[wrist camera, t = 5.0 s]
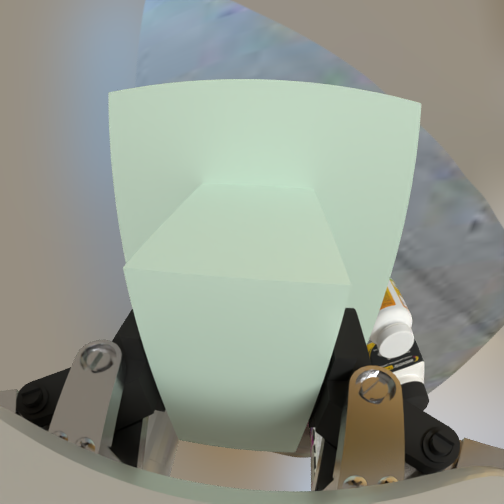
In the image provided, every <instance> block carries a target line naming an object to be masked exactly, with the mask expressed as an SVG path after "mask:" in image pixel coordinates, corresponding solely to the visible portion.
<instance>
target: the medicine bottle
mask: <svg viewBox="0 0 504 504" xmlns="http://www.w3.org/2000/svg"><path fill="white" fill-rule="evenodd" d="M366 346H367V349H368V353H369V356H370V360H371V364H372V366H380V367H384V368H386V369H388V370H390V371H391V372H392V373H393V374H395V375H396V377H397V378H398V380H399V381H400V384H401V388H402V398H403V399H404V400H406V401H408V402H409V403H411V404H412V405H414V406H416V407H417V408H419V409H421V410H422V411H423V410H424V409H425V408H426V407H427V405H428V403H429V399H428V395H427V392H426V389H425V386H424V360H423V358H422V355H421V353H420V350H419V348H418V346H417V343H416V341H415V339H414V343H413V345H412V347H411V348H410V349H409V350H408V351H407V352H406V353H404V354H402V355H400V356H398V357H394V358H386V357H383V356H382V355H381V354H380V352H379V350H378V347H377V344H375V343H373V342H370V343H367V345H366Z"/></svg>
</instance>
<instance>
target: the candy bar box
mask: <svg viewBox="0 0 504 504" xmlns="http://www.w3.org/2000/svg"><path fill="white" fill-rule="evenodd" d="M321 441H322V437H321V436H320V435H319V434H318V433H316V432H315V428H311V432H310V445H311V491H312V486H313V482H314V477H315V472H316V468H317V463H318V457H319V452H320V447H321Z"/></svg>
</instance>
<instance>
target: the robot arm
mask: <svg viewBox="0 0 504 504" xmlns="http://www.w3.org/2000/svg"><path fill="white" fill-rule="evenodd" d="M309 428H315V432H316V433H318V434H319V435H320V436H321V437H322V441H321V447H320V452H319V457H318V463H317V468H316V472H315V477H314V482H313V486H312V491H304V492H303V491H300V492H288V491H261V490H248V489H237V488H229V487H221V486H214V485H208V484H201V483H196V482H191V481H186V480H181V479H176V478H172V477H170V473H171V469H172V465H173V462H174V458H175V454H176V451H177V447H178V443H179V439H178V437H177V435H176V432H175V430H174V428H173V425H172V423H171V421H170V418H169V416H168V413H167V411H166V408H165V406H164V403H163V401H162V398H161V396H160V393H159V390H158V388H157V385H156V382H155V379H154V377H153V374H152V371H151V368H150V365H149V362H148V359H147V356H146V353H145V350H144V346H143V343H142V340H141V337H140V333H139V330H138V326H137V323H136V319H135V316H134V312H133V309H132V310H131V312H130V313H129V315H128V317H127V318H126V320H125V321H124V323H123V325H122V326H121V328H120V329H119V331H118V333H117V334H116V336H115V337H114V339H113V341H108V340H96V341H92V342H90V343H88V344H86V345H85V346H83V347H82V348H81V349H80V350H79V352H78V353H77V355H76V357H75V359H74V362H73V364H72V367H70V368H68V369H65V370H63V371H60V372H57V373H54V374H52V375H49V376H46V377H43V378H41V379H38V380H35V381H32V382H30V383H28V384H26V385H25V386H24V387H22V389H21V390H20V391H18V390H17V389H15V390H6V391H0V504H504V449H500V448H497V447H493V446H490V445H486V444H483V443H480V442H477V441H473V440H470V439H467V438H464V439H463V440H459V438H458V436H457V434H456V433H455V431H454V430H452V429H451V428H450V427H449V426H447V425H445V424H444V423H442V422H440V421H438V420H437V419H435V418H433V417H432V416H430V415H429V414H427V413H425V412H423V411H422V410H421V409H419V408H417V407H416V406H414V405H412V404H411V403H409V402H408V401H406V400H404V399H403V398H402V388H401V384H400V381H399V380H398V378H397V377H396V375H395V374H393V373H392V372H391V371H390V370H388V369H386V368H384V367H380V366H372V364H371V360H370V356H369V353H368V349H367V346H366V342H365V339H364V335H363V332H362V328H361V325H360V322H359V318H358V315H357V312H356V310H355V309H354V308H345V311H344V315H343V318H342V322H341V326H340V329H339V333H338V336H337V339H336V343H335V346H334V349H333V352H332V356H331V359H330V362H329V365H328V368H327V371H326V374H325V377H324V380H323V383H322V386H321V388H320V391H319V394H318V397H317V399H316V402H315V405H314V408H313V410H312V413H311V415H310V418H309Z"/></svg>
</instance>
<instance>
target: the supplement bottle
mask: <svg viewBox="0 0 504 504" xmlns="http://www.w3.org/2000/svg"><path fill="white" fill-rule="evenodd" d="M411 326H412V316H411V314H410V312H409V310H408V308H407V306H406V304H405V302H404V300H403V298H402V296H401V294H400V292H399V290H398V288H397V286H396V284H395V283H394V281H393V280H392V279H391V278H390V279H389V282H388V286H387V289H386V292H385V295H384V298H383V301H382V304H381V307H380V310H379V313H378V316H377V319H376V322H375V324H374V327H373V330H372V332H371V335H370V338H369V339H370V340H371V341H372V342H373V343H375V344H377V347H378V350H379V352H380V354H381V355H382V356H383V357H386V358H394V357H398V356H400V355H402V354H404V353H406V352H407V351H408V350H409V349H410V348H411V347H412V345H413V343H414V335H413V333H412V330H411Z"/></svg>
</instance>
